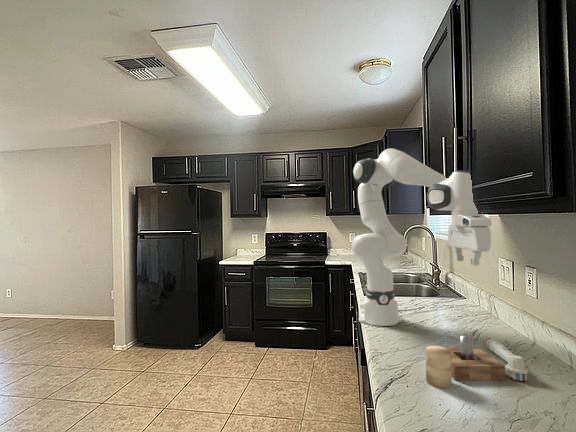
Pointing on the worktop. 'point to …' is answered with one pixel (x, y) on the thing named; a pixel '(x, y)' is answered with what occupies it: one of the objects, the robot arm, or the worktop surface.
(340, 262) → the worktop surface
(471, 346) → the cylinder
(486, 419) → the worktop surface
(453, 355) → the socket block
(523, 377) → the toothbrush head
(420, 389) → the worktop surface
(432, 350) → the fat post
